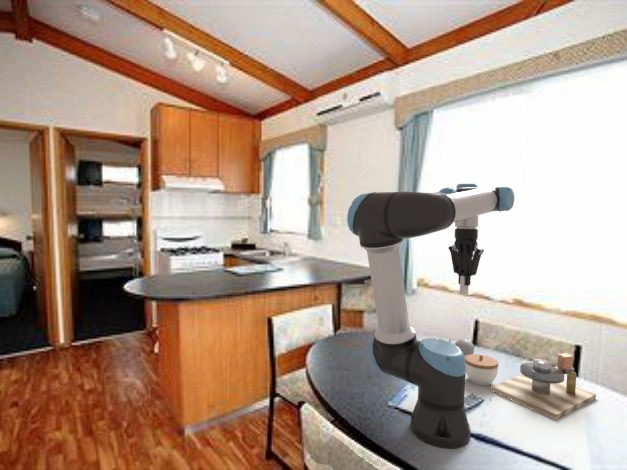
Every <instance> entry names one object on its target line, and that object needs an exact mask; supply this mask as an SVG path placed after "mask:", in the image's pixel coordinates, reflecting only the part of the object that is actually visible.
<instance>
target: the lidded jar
mask: <svg viewBox="0 0 627 470" xmlns="http://www.w3.org/2000/svg"><path fill="white" fill-rule="evenodd" d="M465 363H466V373H465V375H466V376H467V378H469V380H470V382H471V383H473V384H475V385H477V386H481V387H482V386H484V387H485V386H489V385H490V384H492V383H493V382H494V381H495V379H496V378H497V375H498V369H499V361H498V360H497V359H496V358H494V357H491V356H488V355H486V354H485V355H484V354H479V353H477V354H476V353H473V354H469V355H466V356H465Z"/></svg>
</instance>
